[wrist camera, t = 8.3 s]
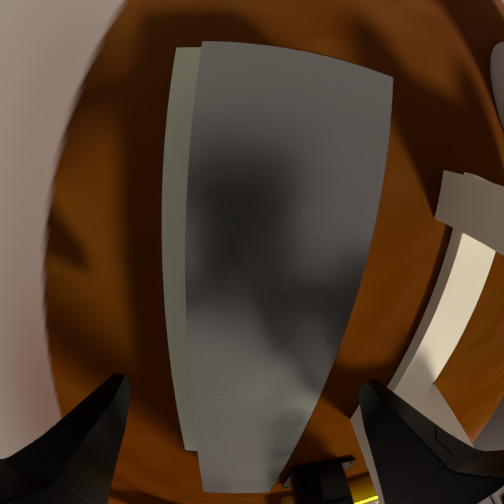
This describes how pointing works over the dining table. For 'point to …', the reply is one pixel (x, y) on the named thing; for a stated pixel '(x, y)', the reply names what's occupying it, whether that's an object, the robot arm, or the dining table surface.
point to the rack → (447, 301)
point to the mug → (498, 78)
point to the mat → (178, 228)
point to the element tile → (353, 492)
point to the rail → (274, 244)
